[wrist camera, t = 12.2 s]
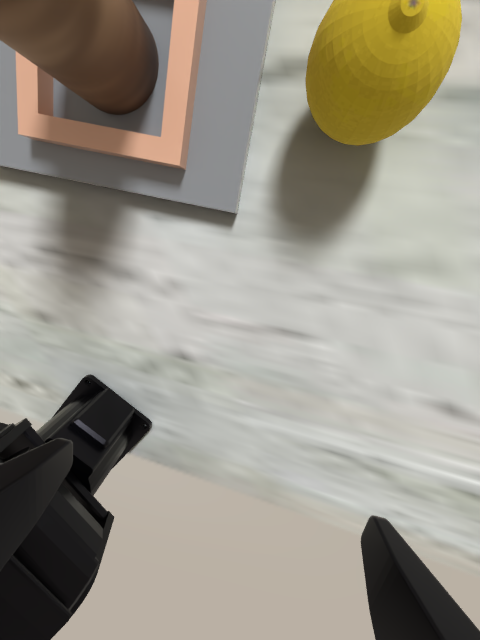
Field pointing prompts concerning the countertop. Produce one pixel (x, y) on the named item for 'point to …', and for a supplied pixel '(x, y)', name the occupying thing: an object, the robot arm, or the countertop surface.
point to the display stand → (151, 110)
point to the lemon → (379, 64)
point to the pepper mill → (86, 47)
